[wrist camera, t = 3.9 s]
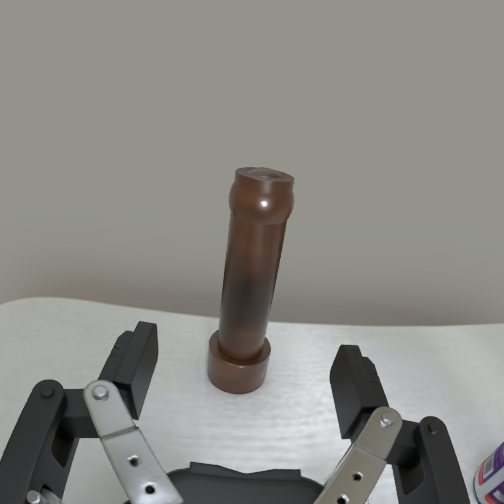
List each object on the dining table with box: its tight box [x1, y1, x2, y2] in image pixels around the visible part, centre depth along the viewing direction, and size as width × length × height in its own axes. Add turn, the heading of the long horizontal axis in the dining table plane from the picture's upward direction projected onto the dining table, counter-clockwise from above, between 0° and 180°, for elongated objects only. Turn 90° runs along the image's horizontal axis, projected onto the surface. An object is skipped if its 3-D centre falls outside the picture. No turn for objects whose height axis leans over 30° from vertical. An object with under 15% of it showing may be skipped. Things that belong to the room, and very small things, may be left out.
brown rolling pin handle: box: [207, 167, 294, 394], centre depth 20 cm, size 4×4×15 cm
